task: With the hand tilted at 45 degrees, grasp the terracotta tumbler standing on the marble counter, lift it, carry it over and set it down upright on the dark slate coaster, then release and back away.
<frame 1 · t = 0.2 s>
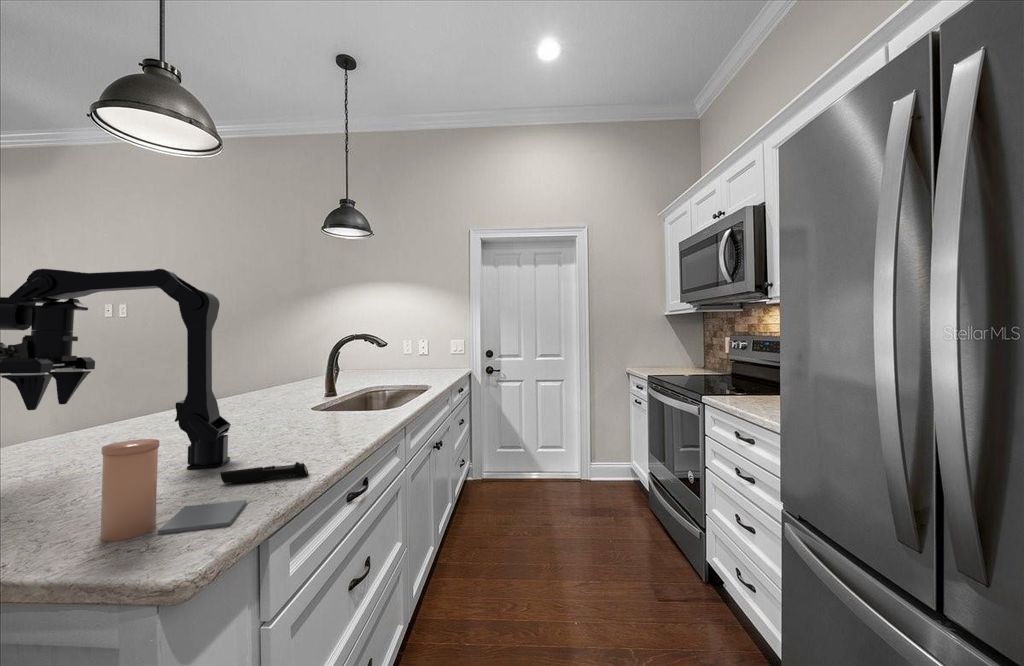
hand: (47, 407, 82), 15 cm above the countertop, tool pointing down, fingers open, 9 cm apart
coaster: (206, 517, 65), on the countertop
electric trimmer: (267, 481, 83), on the countertop
tumbler: (129, 531, 60), on the countertop
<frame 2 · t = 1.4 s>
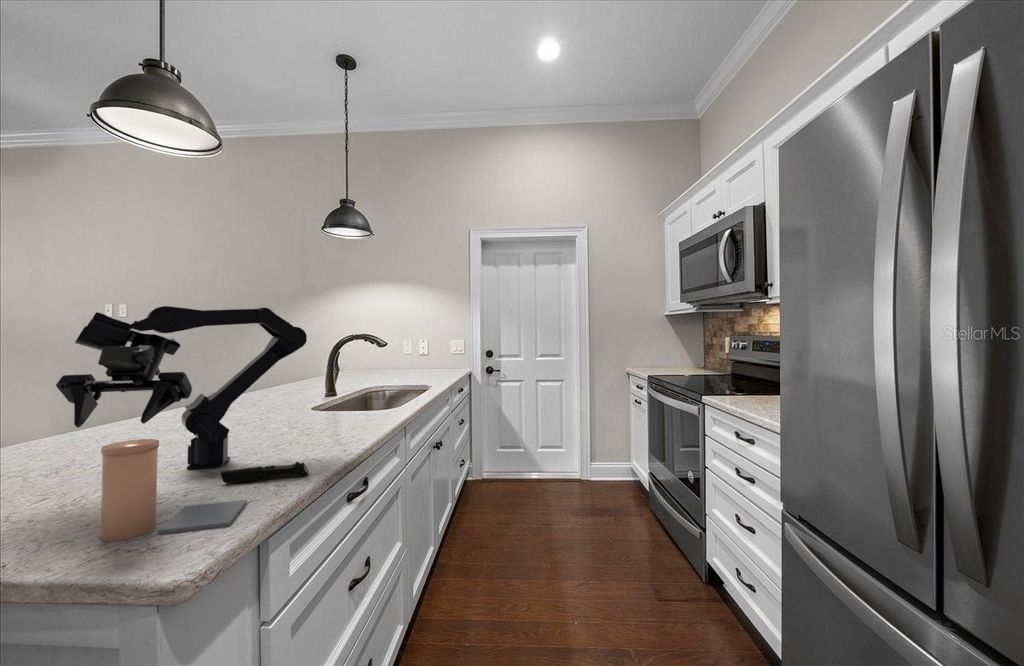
hand: (110, 424, 72), 13 cm above the countertop, tool tilted 45°, fingers open, 9 cm apart
nothing on the countertop moved.
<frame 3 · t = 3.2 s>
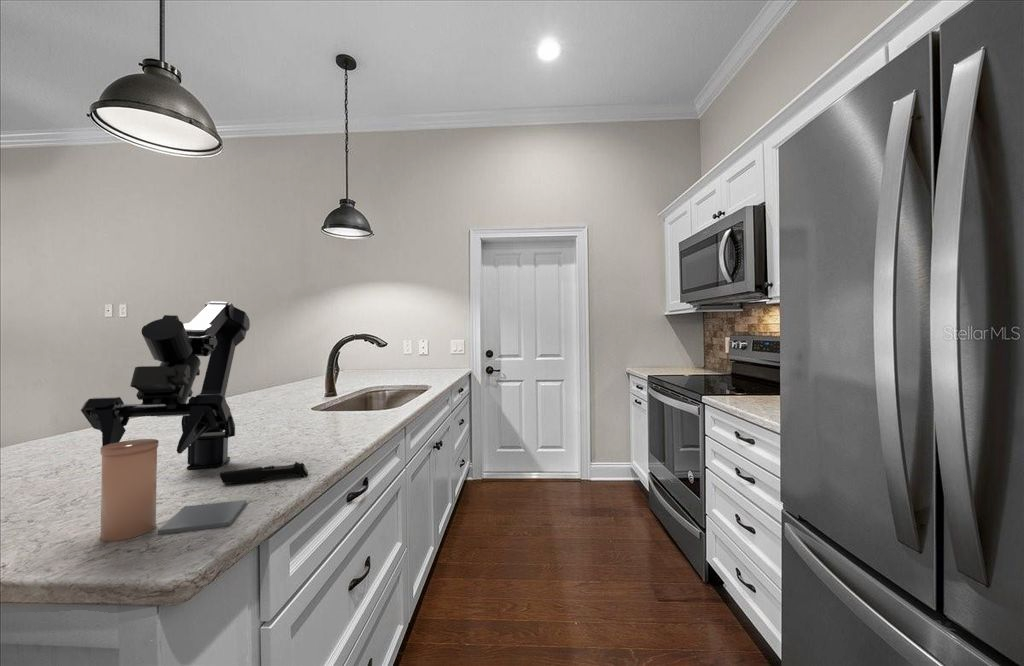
hand: (142, 454, 63), 10 cm above the countertop, tool tilted 45°, fingers open, 9 cm apart
nothing on the countertop moved.
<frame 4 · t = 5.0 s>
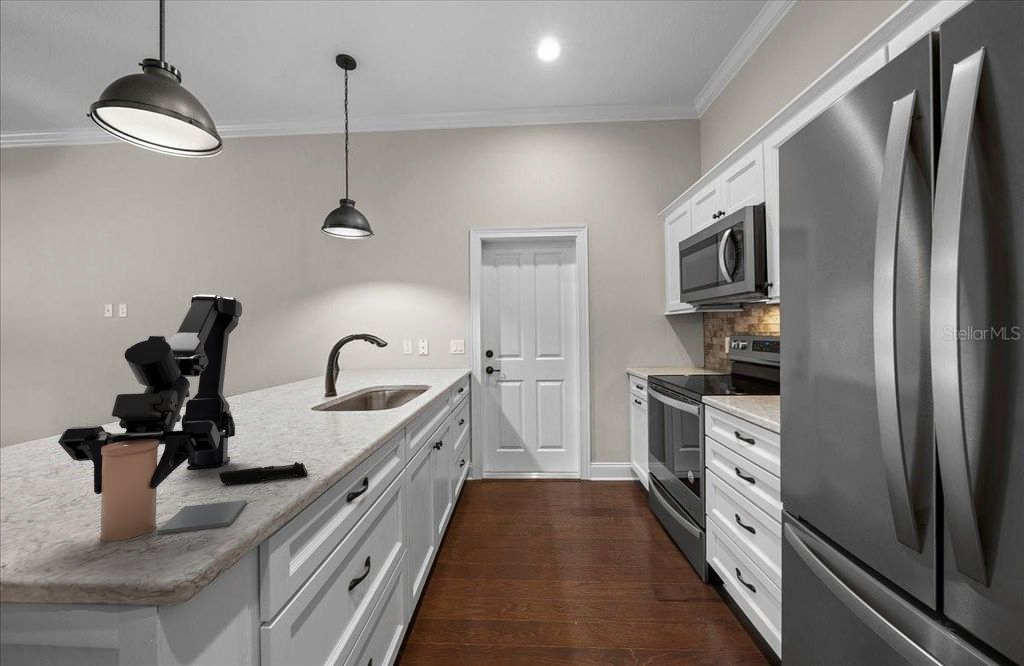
hand: (125, 490, 59), 7 cm above the countertop, tool tilted 45°, fingers closed on tumbler, 6 cm apart
tumbler: (129, 531, 60), on the countertop, touching gripper
everything else where it was.
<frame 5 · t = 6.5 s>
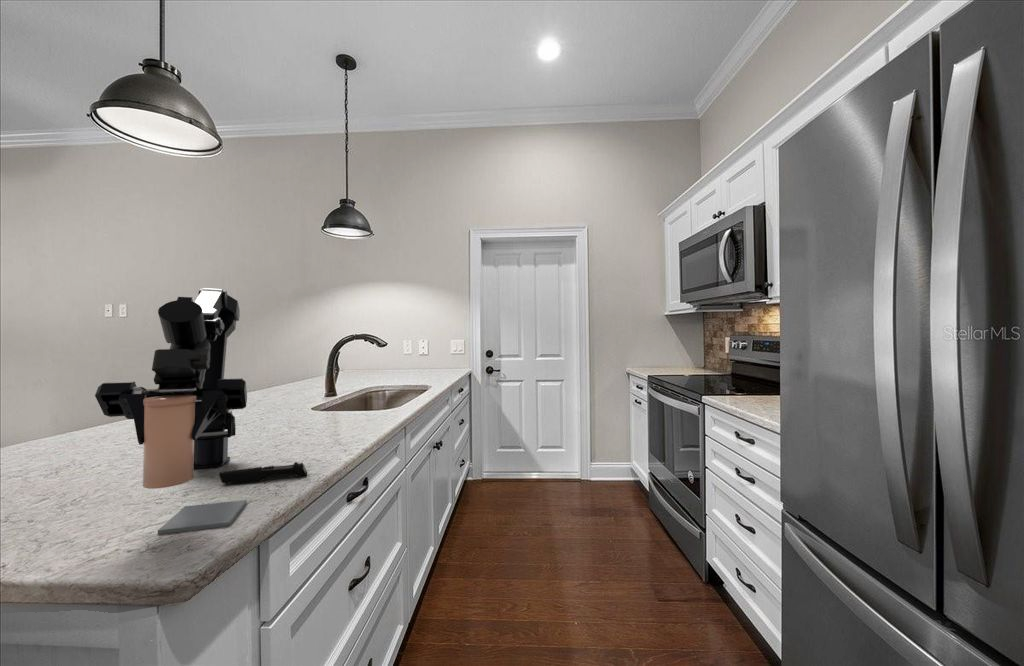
hand: (167, 440, 61), 13 cm above the countertop, tool tilted 45°, fingers closed on tumbler, 6 cm apart
tumbler: (168, 481, 62), point 7 cm above the countertop, touching gripper
everything else where it was.
when the fingers open (8 cm above the countertop, at t = 8.3 s): tumbler stays where it is, resting on coaster.
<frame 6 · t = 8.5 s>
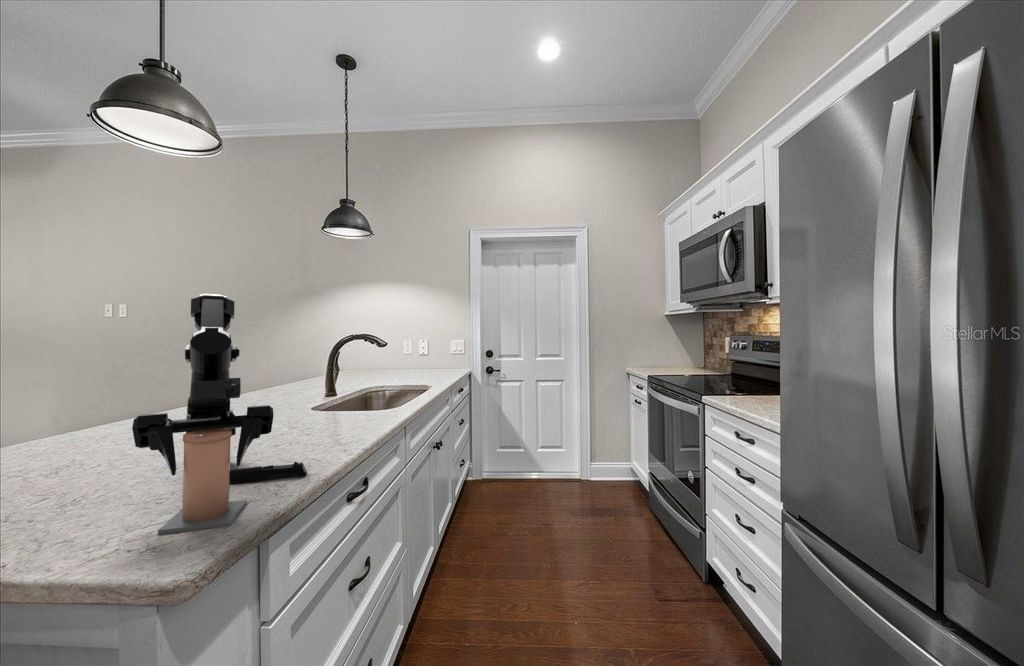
hand: (207, 469, 64), 8 cm above the countertop, tool tilted 45°, fingers open, 8 cm apart
tumbler: (206, 513, 65), point 1 cm above the countertop, touching coaster
everything else where it was.
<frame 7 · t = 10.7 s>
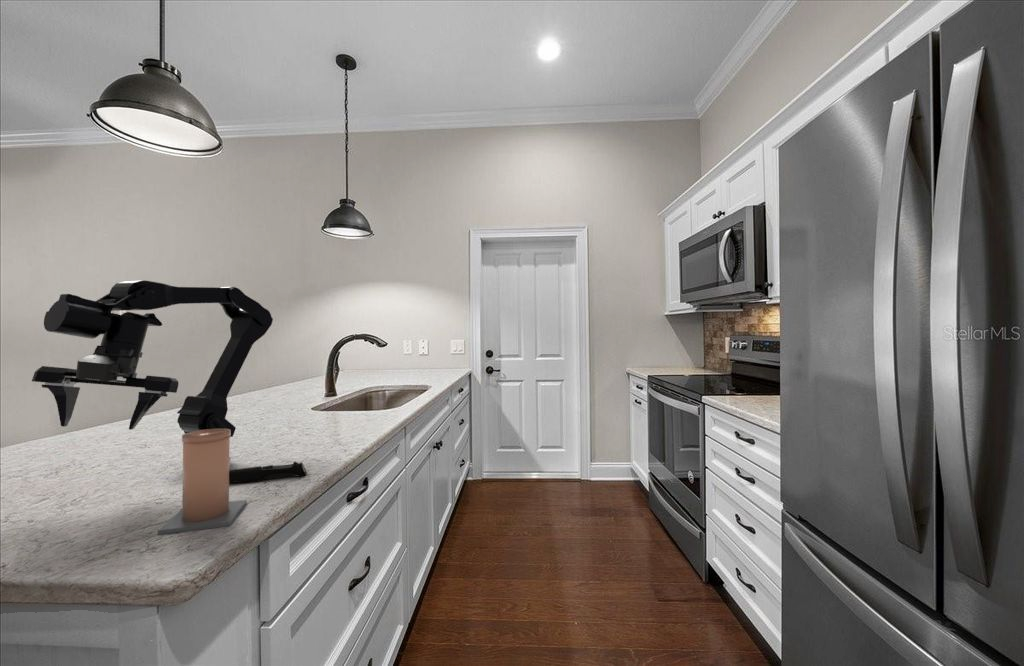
hand: (98, 427, 73), 12 cm above the countertop, tool pointing down, fingers open, 9 cm apart
nothing on the countertop moved.
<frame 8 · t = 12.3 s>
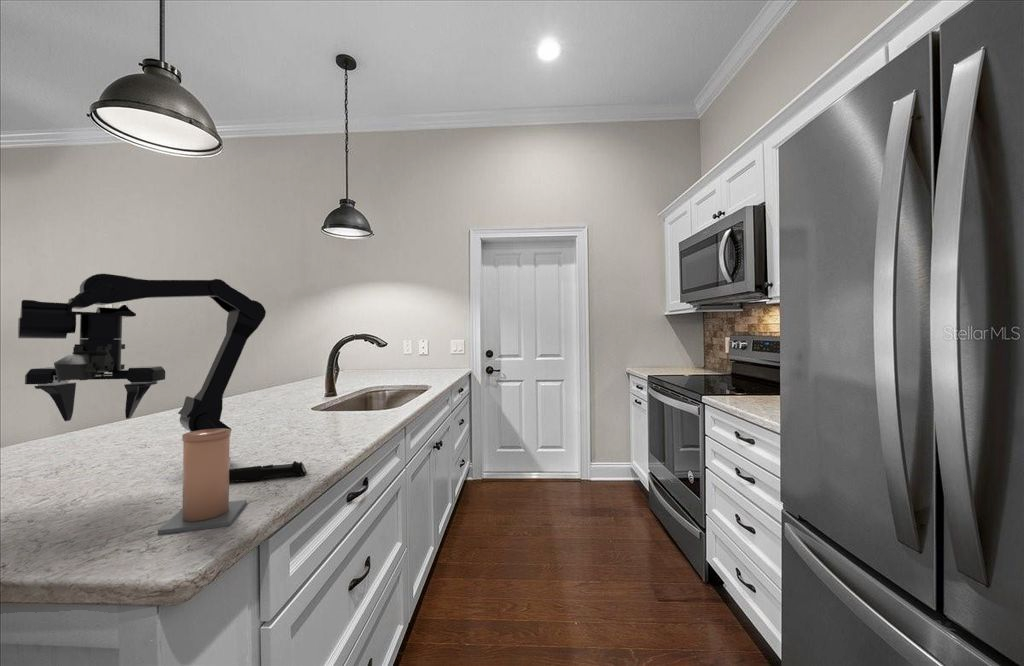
hand: (98, 419, 78), 13 cm above the countertop, tool pointing down, fingers open, 9 cm apart
at the end: tumbler 0.1 cm from the coaster (horizontally); tumbler tilted 1°; tumbler point 0.7 cm above the countertop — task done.
